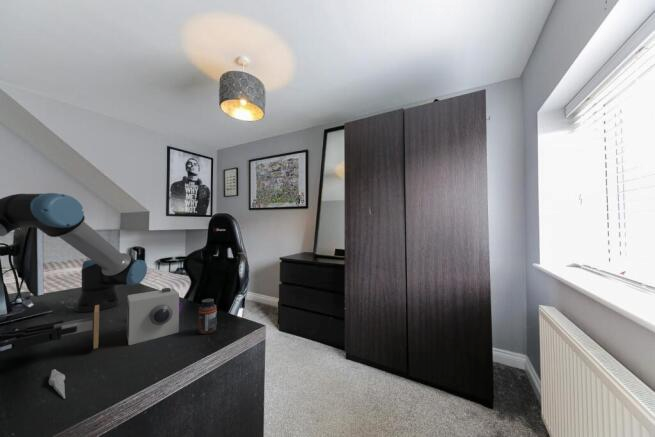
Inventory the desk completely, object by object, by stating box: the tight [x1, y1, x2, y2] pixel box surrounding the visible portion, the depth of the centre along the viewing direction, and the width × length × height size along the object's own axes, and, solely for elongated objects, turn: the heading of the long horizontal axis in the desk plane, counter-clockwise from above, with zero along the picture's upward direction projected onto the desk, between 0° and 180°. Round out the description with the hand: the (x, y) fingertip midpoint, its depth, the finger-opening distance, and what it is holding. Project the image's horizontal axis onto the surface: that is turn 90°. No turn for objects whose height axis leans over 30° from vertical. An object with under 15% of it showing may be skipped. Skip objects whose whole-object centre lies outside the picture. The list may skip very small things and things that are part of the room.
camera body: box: [126, 287, 180, 346], centre depth 86 cm, size 12×14×15 cm
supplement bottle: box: [197, 298, 218, 335], centre depth 89 cm, size 6×6×11 cm
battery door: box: [54, 305, 100, 349], centre depth 74 cm, size 8×10×11 cm
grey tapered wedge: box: [48, 369, 66, 399], centre depth 58 cm, size 15×3×2 cm, turn 55°
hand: (92, 323), depth 76 cm, fingers closed on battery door, 2 cm apart
